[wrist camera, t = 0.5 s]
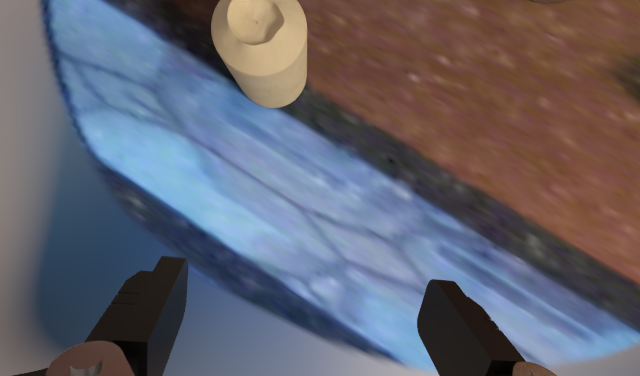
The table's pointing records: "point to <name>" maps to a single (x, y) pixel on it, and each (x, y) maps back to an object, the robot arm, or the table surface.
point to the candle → (263, 47)
